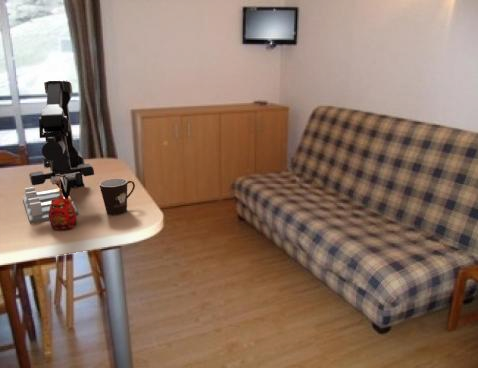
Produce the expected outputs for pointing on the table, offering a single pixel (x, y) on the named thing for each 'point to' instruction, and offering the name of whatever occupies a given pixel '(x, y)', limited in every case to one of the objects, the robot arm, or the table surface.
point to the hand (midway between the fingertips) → (66, 198)
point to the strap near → (47, 204)
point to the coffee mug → (115, 195)
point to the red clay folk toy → (62, 212)
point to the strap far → (48, 192)
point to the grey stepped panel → (39, 205)
